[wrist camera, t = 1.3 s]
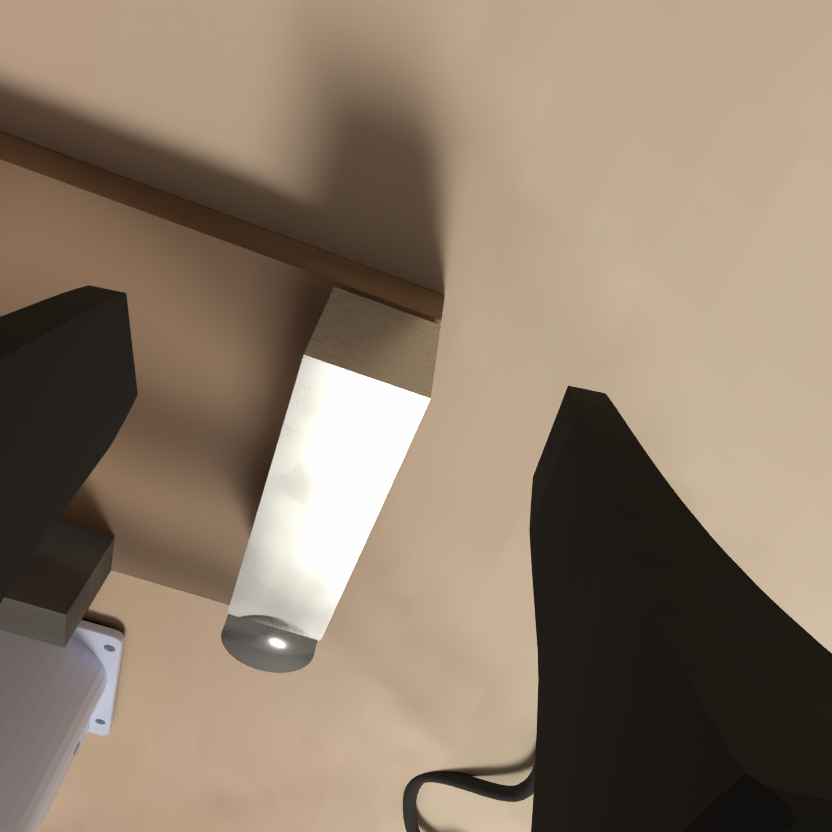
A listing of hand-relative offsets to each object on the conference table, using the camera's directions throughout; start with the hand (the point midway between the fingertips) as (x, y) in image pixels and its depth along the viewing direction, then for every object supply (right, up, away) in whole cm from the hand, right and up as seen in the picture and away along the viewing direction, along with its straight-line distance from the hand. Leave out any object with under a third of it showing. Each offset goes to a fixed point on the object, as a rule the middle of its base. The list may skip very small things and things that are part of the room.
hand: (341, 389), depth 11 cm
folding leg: (-2, -2, +10) cm, 11 cm away
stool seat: (-7, 0, +12) cm, 14 cm away
